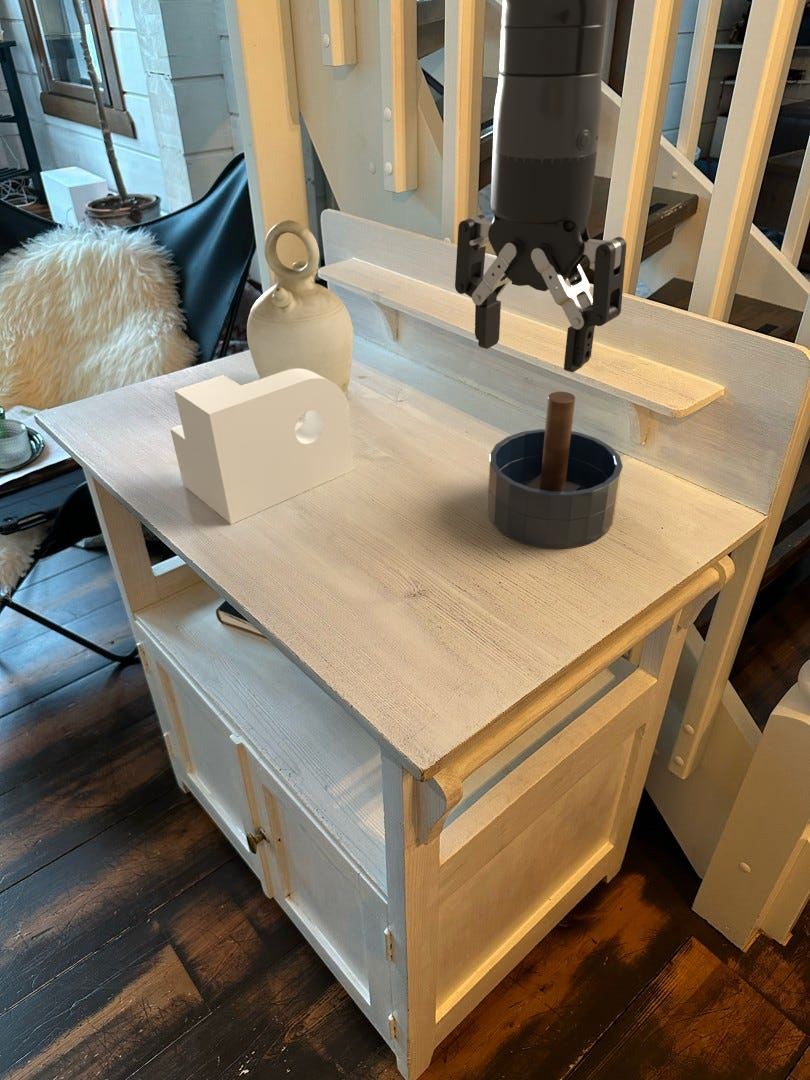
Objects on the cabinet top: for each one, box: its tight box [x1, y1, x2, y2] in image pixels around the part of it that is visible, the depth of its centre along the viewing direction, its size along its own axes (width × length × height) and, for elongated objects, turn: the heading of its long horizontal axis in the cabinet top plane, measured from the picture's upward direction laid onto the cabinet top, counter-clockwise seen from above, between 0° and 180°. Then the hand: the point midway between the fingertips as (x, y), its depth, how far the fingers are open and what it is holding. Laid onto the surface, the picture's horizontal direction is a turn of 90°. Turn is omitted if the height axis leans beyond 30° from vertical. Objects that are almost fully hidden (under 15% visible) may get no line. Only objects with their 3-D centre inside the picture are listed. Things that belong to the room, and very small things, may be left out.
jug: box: [246, 219, 355, 397], centre depth 108 cm, size 15×16×25 cm
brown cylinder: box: [526, 391, 581, 492], centre depth 84 cm, size 5×4×14 cm
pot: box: [487, 428, 624, 550], centre depth 86 cm, size 14×14×7 cm
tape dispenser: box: [169, 368, 355, 525], centre depth 92 cm, size 18×12×14 cm, turn 131°
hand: (529, 356), depth 64 cm, fingers open, 8 cm apart
